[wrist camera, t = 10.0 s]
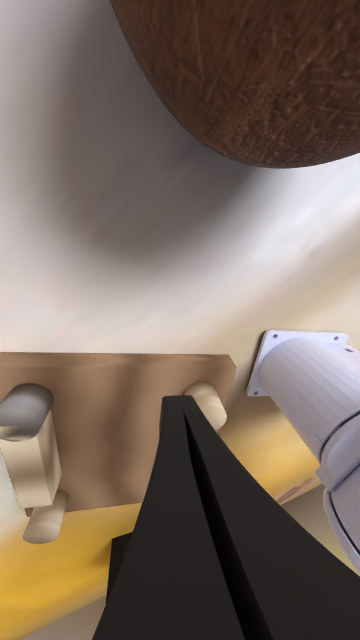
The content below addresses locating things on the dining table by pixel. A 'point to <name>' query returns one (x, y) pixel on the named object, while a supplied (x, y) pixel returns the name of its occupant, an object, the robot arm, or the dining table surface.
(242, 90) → the wooden sphere
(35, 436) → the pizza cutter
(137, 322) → the dining table surface
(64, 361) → the stool seat
